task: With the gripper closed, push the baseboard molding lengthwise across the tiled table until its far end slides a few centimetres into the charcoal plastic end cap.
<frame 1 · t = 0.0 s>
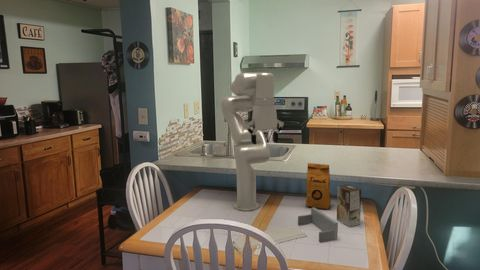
hand: (264, 143, 154), 37 cm above the table, tool pointing down, fingers open, 9 cm apart
coffee package: (318, 206, 182), on the table
end cap: (315, 231, 152), on the table
baseboard molding: (269, 241, 146), on the table
coffee box: (347, 222, 162), on the table
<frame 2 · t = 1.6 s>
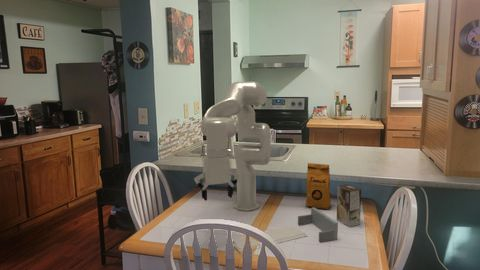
hand: (217, 198, 136), 20 cm above the table, tool pointing down, fingers open, 9 cm apart
nothing on the table moved.
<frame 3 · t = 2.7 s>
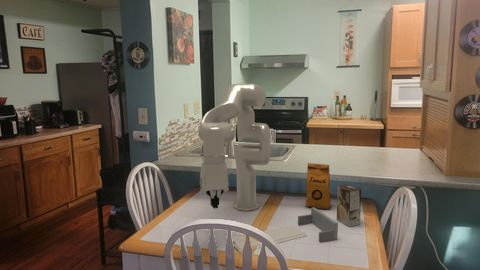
hand: (215, 207, 136), 17 cm above the table, tool pointing down, fingers closed
nothing on the table moved.
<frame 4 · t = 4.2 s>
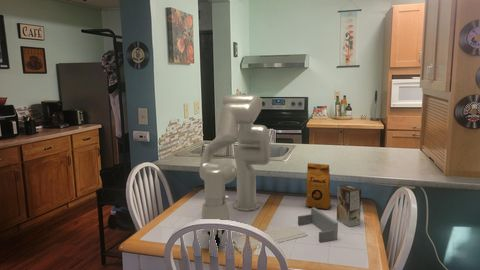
hand: (216, 246, 139), 1 cm above the table, tool pointing down, fingers closed
nothing on the table moved.
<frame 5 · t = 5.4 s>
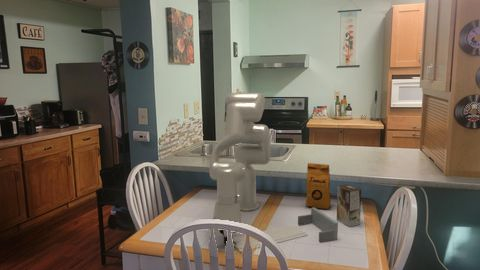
hand: (228, 244, 140), 1 cm above the table, tool pointing down, fingers closed
baseboard molding: (269, 241, 146), on the table, touching gripper
everything else where it was.
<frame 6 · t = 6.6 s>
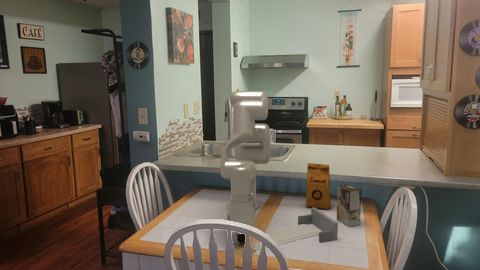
hand: (241, 242, 142), 1 cm above the table, tool pointing down, fingers closed
baseboard molding: (282, 240, 147), on the table, touching gripper
everything else where it was.
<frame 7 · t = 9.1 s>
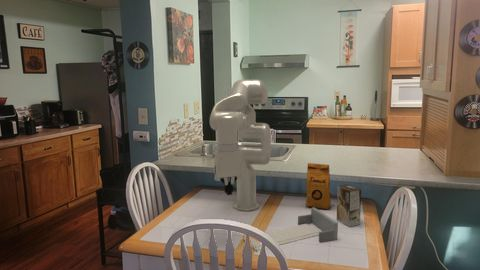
hand: (228, 193, 140), 20 cm above the table, tool pointing down, fingers closed
baseboard molding: (283, 239, 147), on the table
everything else where it was.
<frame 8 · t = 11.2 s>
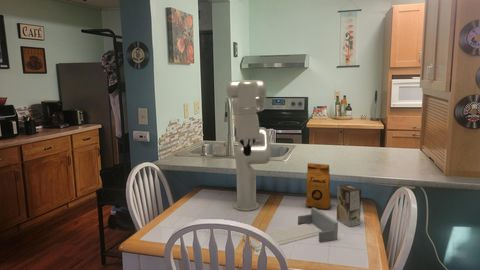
hand: (247, 155, 152), 32 cm above the table, tool pointing down, fingers closed
nothing on the table moved.
at the end: baseboard molding inside the target area (0.7 cm from its centre), on the table; baseboard molding tilted 1°; baseboard molding moved 6.3 cm from its start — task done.
